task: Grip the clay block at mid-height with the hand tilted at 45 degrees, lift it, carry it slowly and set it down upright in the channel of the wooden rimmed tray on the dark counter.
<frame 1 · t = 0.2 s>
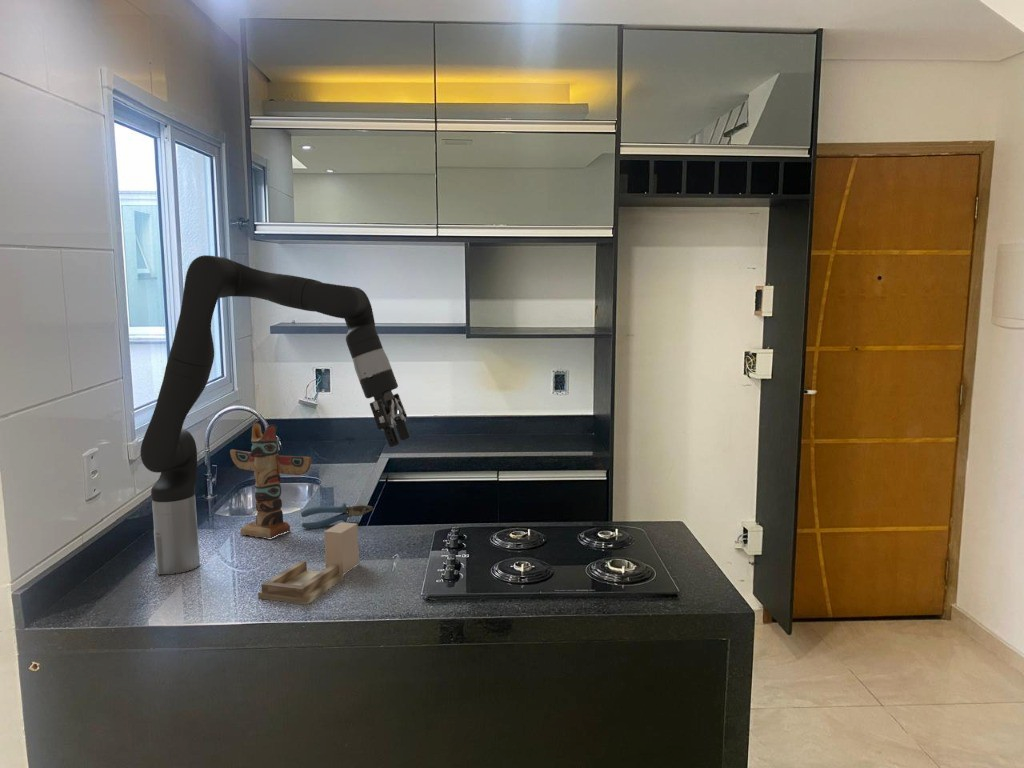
hand: (400, 442, 155), 31 cm above the countertop, tool tilted 20°, fingers open, 8 cm apart
totem pole: (265, 534, 192), on the countertop
pliers: (338, 525, 198), on the countertop
wooden rimmed tray: (302, 588, 153), on the countertop
clay block: (343, 568, 164), on the countertop
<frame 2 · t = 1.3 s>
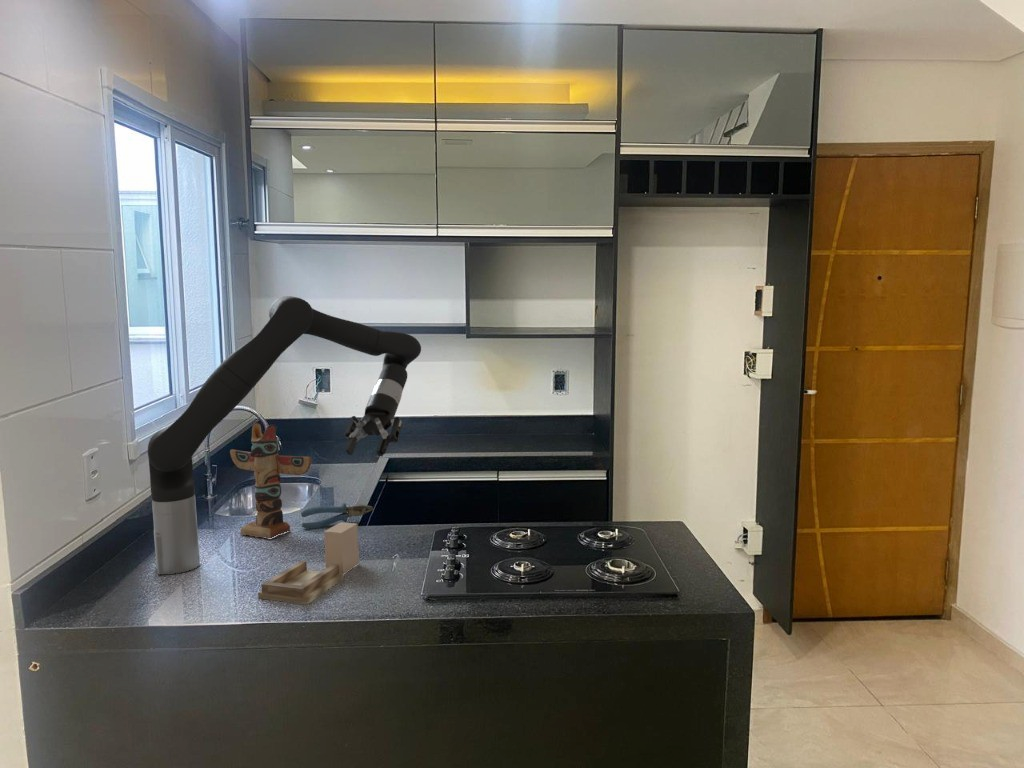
hand: (364, 454, 172), 25 cm above the countertop, tool tilted 45°, fingers open, 8 cm apart
nothing on the countertop moved.
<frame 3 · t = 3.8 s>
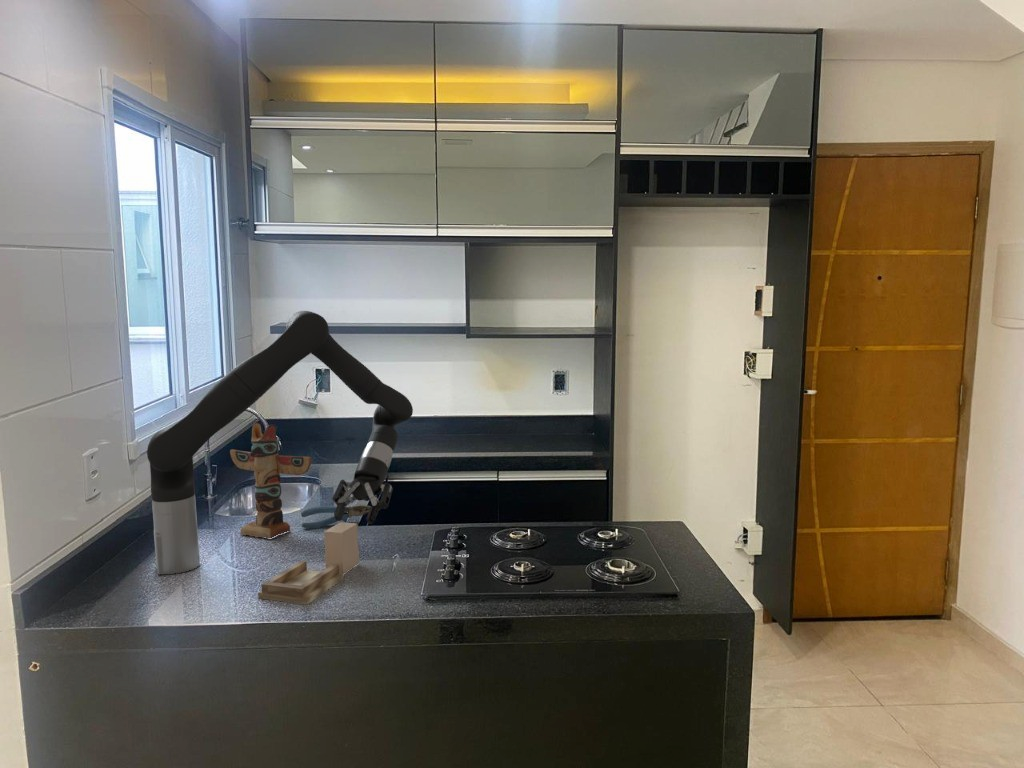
hand: (353, 521, 168), 10 cm above the countertop, tool tilted 45°, fingers open, 8 cm apart
nothing on the countertop moved.
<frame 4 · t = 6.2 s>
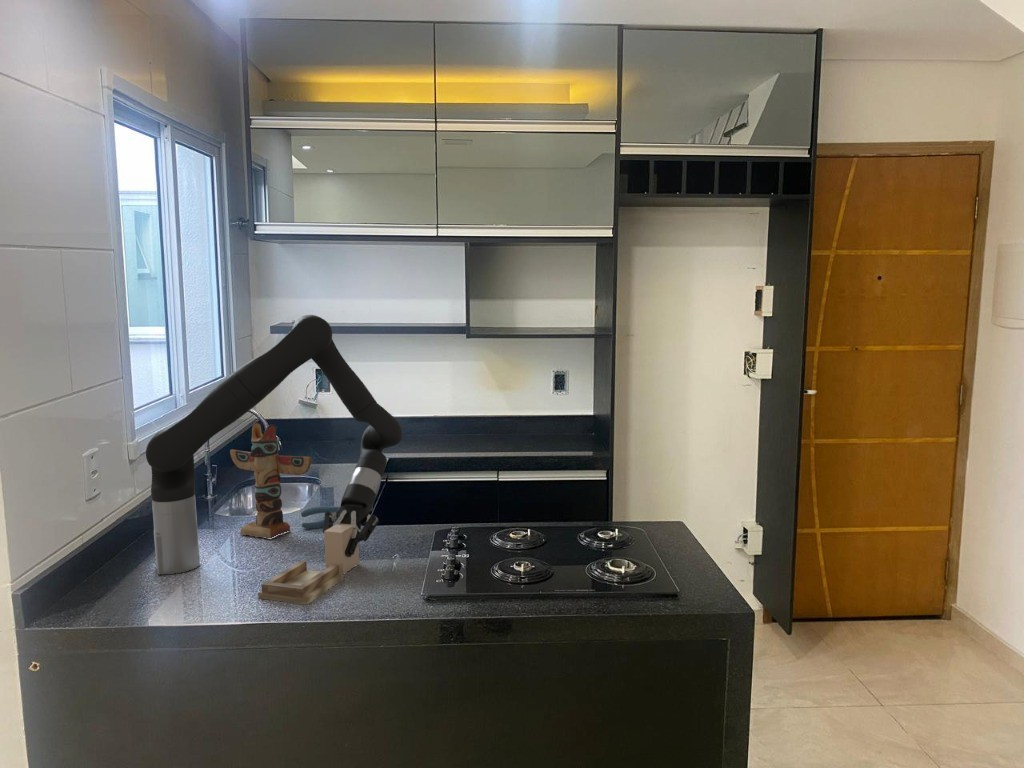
hand: (337, 554, 162), 4 cm above the countertop, tool tilted 45°, fingers closed on clay block, 4 cm apart
clay block: (343, 568, 164), on the countertop, touching gripper
everything else where it was.
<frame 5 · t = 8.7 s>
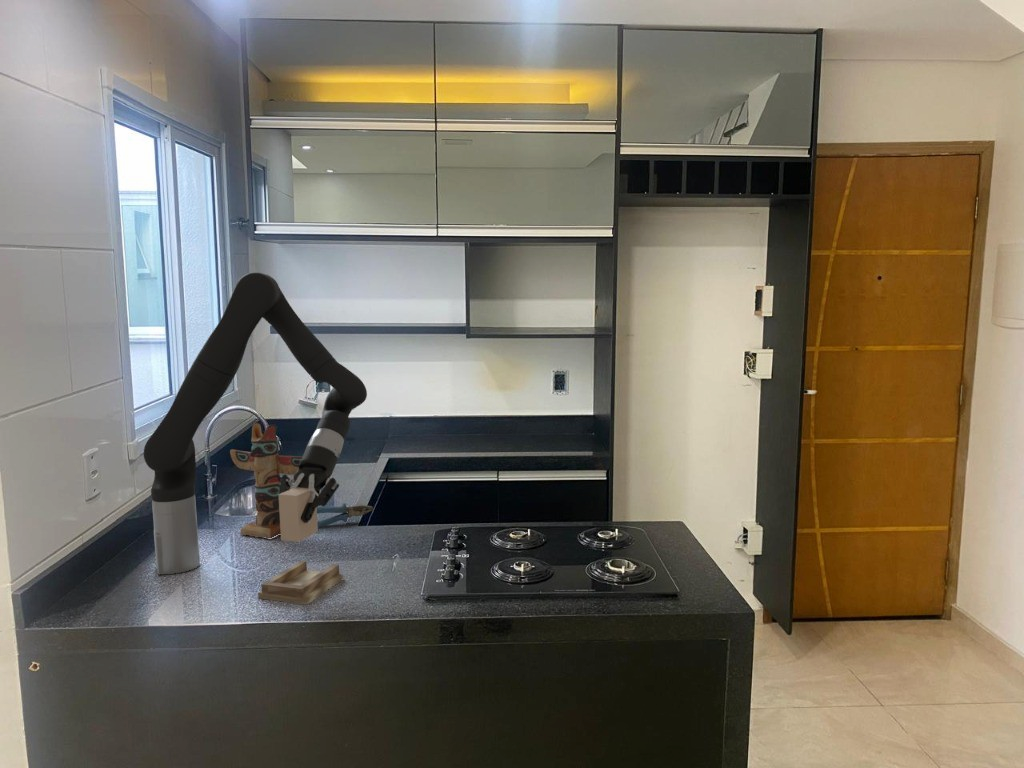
hand: (293, 519, 150), 16 cm above the countertop, tool tilted 45°, fingers closed on clay block, 4 cm apart
clay block: (299, 535, 152), point 12 cm above the countertop, touching gripper
everything else where it was.
when the fingers open (7 cm above the countertop, at t = 11.3 s): clay block drops 1 cm, resting on wooden rimmed tray.
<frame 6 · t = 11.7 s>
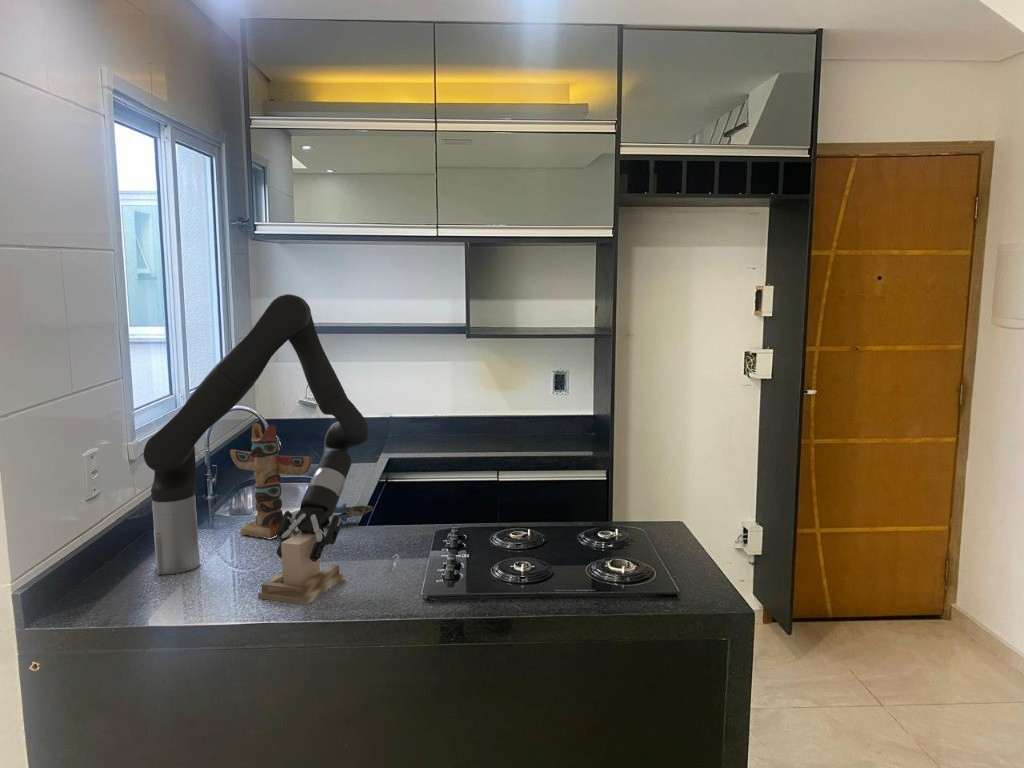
hand: (296, 558, 151), 7 cm above the countertop, tool tilted 45°, fingers open, 7 cm apart
clay block: (302, 582, 153), point 1 cm above the countertop, touching wooden rimmed tray
everything else where it was.
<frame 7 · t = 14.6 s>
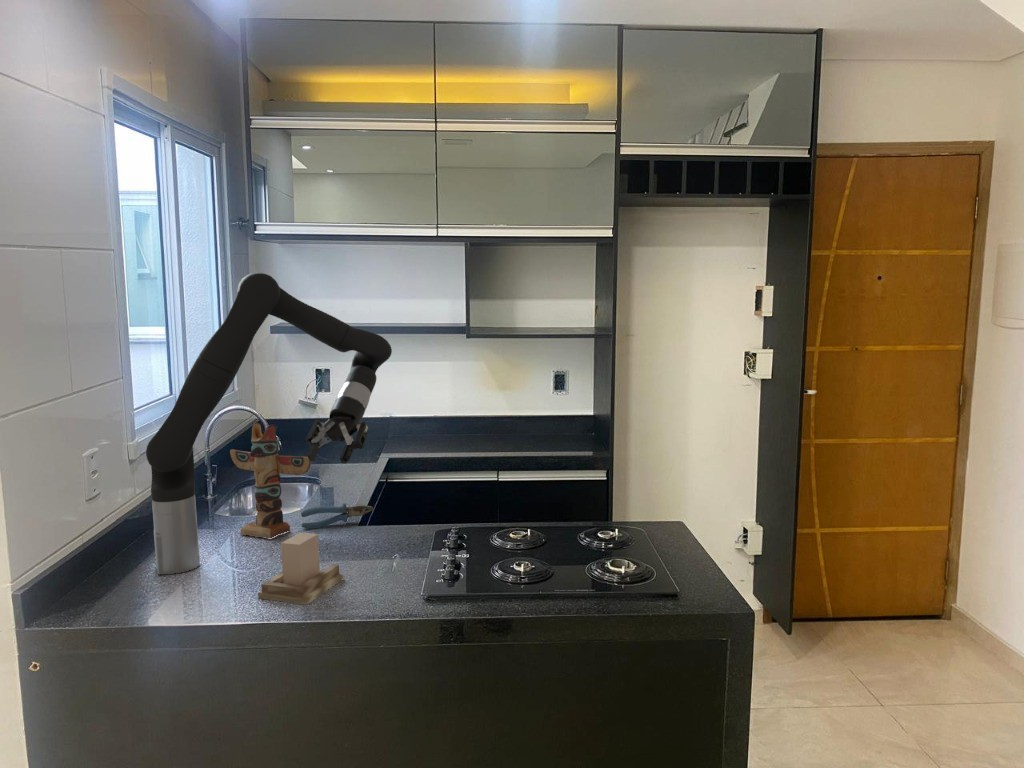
hand: (326, 460, 161), 26 cm above the countertop, tool tilted 45°, fingers open, 8 cm apart
nothing on the countertop moved.
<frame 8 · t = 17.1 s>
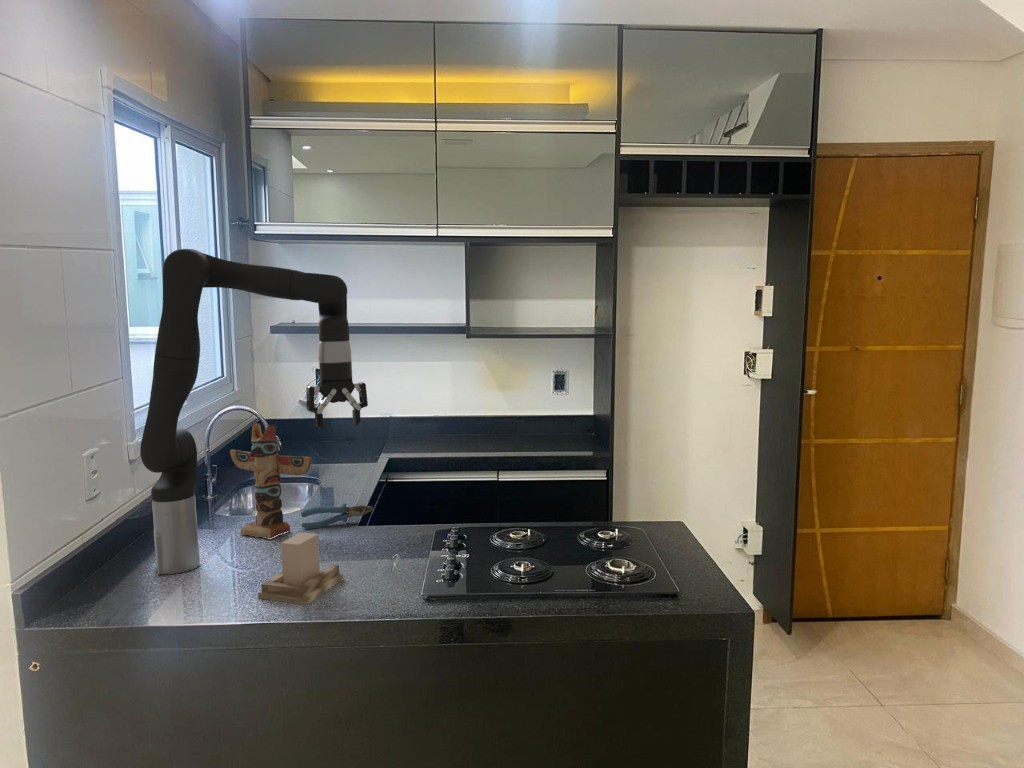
hand: (338, 427, 170), 32 cm above the countertop, tool pointing down, fingers open, 8 cm apart
nothing on the countertop moved.
at the end: clay block 0.1 cm from the wooden rimmed tray (horizontally); clay block tilted 0°; clay block point 1.2 cm above the countertop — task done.
